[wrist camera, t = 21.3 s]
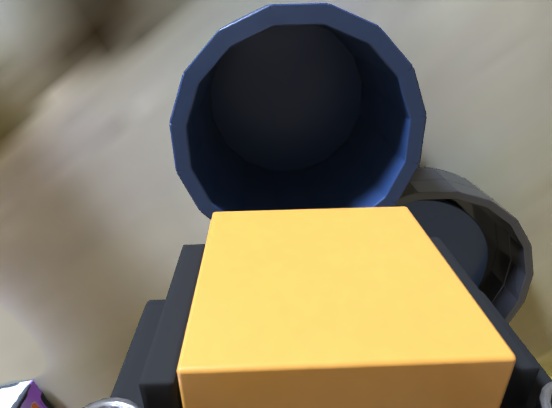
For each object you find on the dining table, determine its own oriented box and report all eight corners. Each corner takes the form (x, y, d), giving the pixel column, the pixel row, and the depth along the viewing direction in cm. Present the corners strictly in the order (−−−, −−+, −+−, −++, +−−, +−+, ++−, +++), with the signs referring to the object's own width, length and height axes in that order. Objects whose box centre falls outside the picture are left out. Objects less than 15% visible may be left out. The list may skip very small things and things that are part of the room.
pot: (191, 6, 22) (152, 7, 14) (378, 2, 22) (444, 0, 14) (209, 180, 27) (187, 254, 19) (364, 175, 27) (408, 246, 19)
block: (212, 210, 9) (174, 370, 5) (407, 204, 9) (520, 358, 5) (225, 353, 11) (206, 550, 7) (386, 348, 11) (456, 538, 7)
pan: (305, 170, 27) (311, 196, 23) (521, 163, 27) (561, 187, 23) (303, 335, 33) (308, 375, 30) (477, 328, 33) (504, 366, 30)
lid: (330, 195, 27) (348, 243, 21) (496, 190, 27) (555, 236, 22) (324, 323, 32) (338, 389, 26) (464, 318, 32) (506, 381, 27)
